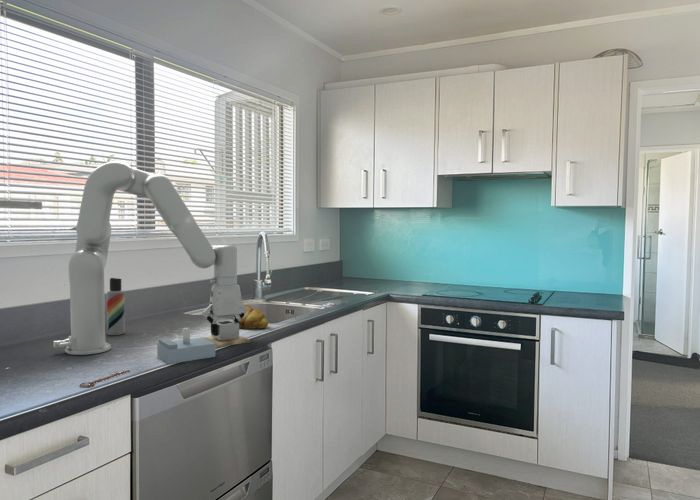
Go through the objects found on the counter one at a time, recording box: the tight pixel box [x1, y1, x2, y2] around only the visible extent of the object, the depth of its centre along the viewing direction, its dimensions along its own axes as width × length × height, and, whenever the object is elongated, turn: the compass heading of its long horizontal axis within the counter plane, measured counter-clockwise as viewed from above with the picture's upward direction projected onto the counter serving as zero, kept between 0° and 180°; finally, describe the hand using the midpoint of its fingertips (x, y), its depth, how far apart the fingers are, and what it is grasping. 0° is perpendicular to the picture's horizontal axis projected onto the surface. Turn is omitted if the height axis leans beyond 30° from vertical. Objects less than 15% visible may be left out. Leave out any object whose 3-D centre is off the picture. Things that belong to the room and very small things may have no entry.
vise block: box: [156, 327, 216, 365], centre depth 158 cm, size 14×10×8 cm
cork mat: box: [203, 335, 251, 348], centre depth 179 cm, size 12×12×1 cm
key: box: [79, 369, 131, 388], centre depth 136 cm, size 6×1×15 cm
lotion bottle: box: [106, 277, 126, 336], centre depth 187 cm, size 6×6×20 cm
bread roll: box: [240, 304, 269, 330], centre depth 202 cm, size 13×10×8 cm
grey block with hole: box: [210, 319, 240, 340], centre depth 179 cm, size 7×7×5 cm
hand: (225, 333), depth 179 cm, fingers closed on grey block with hole, 7 cm apart
